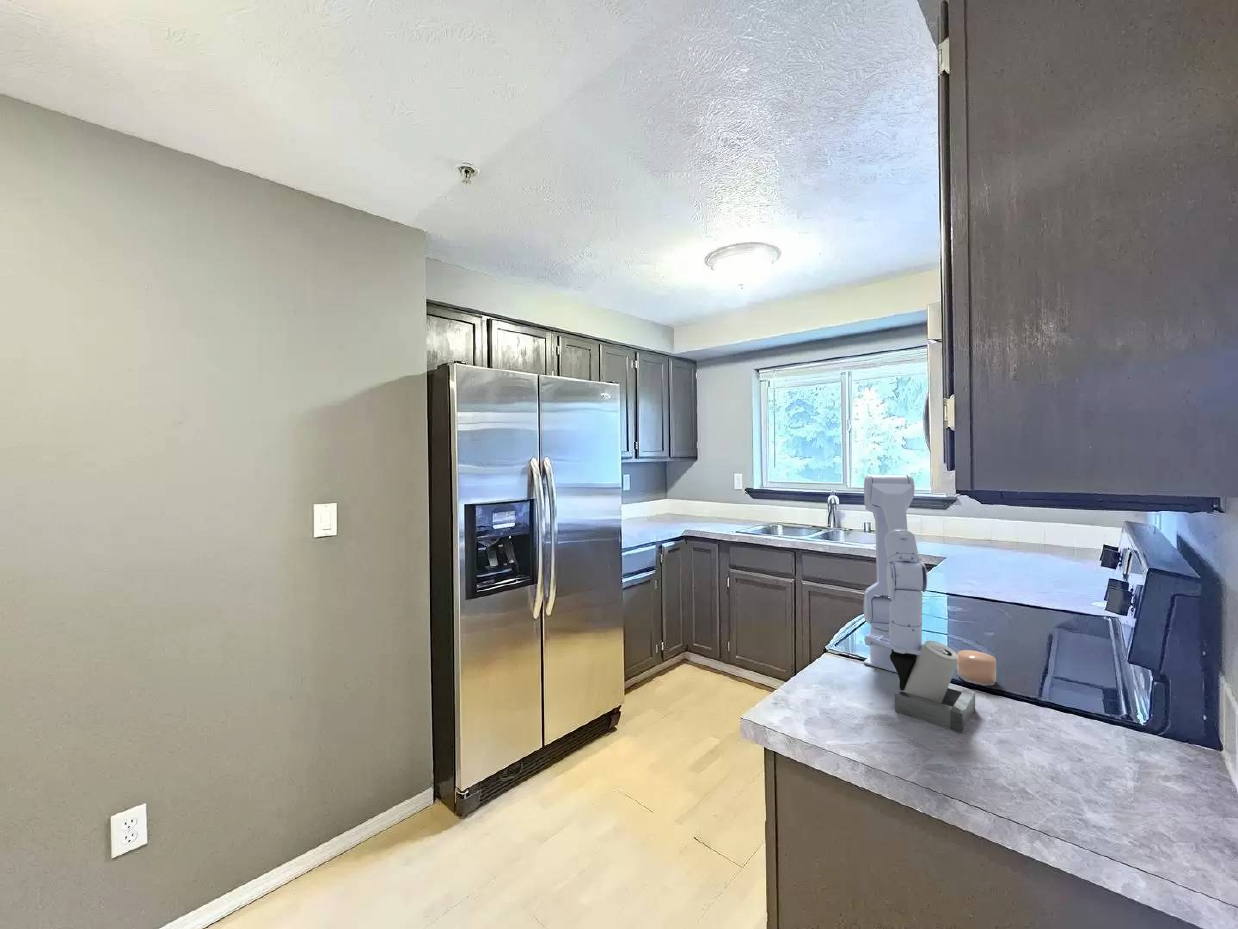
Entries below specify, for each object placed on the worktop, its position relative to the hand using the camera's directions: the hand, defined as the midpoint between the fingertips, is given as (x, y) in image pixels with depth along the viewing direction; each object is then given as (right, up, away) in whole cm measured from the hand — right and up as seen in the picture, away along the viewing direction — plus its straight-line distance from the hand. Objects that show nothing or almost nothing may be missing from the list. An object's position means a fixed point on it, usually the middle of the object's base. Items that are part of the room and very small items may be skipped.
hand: (904, 688), depth 104 cm
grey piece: (+4, -3, -4) cm, 6 cm away
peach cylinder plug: (+21, -2, +9) cm, 23 cm away
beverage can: (+2, -2, -2) cm, 3 cm away
